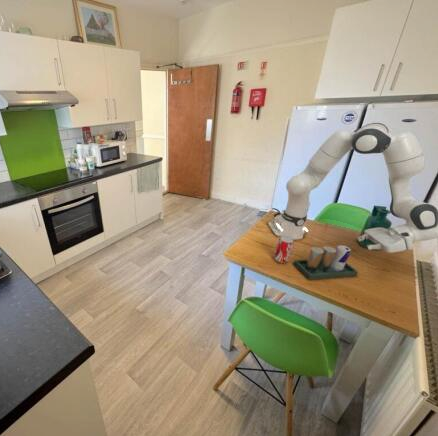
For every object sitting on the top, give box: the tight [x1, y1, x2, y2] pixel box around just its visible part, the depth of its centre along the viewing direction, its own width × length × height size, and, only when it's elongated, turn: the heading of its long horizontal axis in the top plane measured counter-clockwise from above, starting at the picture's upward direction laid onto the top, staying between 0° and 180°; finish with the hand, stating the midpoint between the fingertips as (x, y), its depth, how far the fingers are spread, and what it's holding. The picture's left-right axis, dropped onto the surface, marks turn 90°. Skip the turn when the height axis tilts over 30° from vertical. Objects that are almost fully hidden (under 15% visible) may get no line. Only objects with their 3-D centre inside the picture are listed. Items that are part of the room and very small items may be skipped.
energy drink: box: [330, 244, 352, 271], centre depth 115 cm, size 5×5×12 cm
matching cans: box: [305, 245, 336, 273], centre depth 114 cm, size 5×11×12 cm, turn 94°
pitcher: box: [357, 205, 393, 249], centre depth 130 cm, size 10×8×22 cm
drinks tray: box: [293, 258, 359, 281], centre depth 117 cm, size 12×24×2 cm, turn 94°
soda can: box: [273, 236, 295, 264], centre depth 122 cm, size 7×7×13 cm
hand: (362, 243), depth 116 cm, fingers open, 8 cm apart
